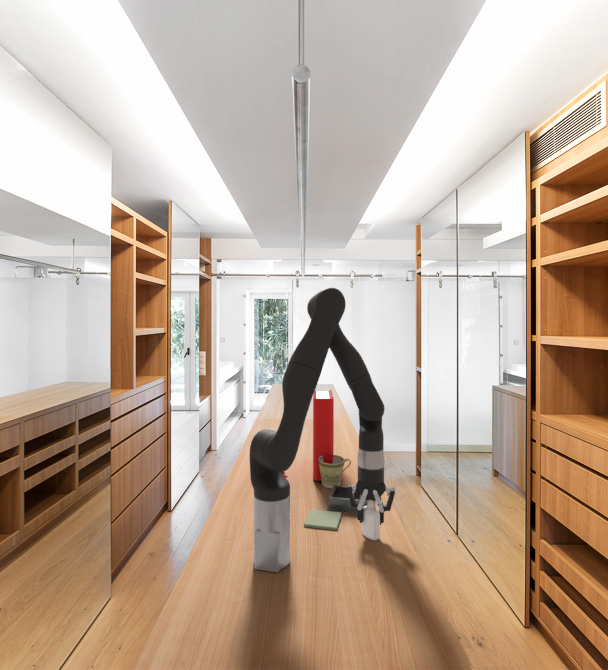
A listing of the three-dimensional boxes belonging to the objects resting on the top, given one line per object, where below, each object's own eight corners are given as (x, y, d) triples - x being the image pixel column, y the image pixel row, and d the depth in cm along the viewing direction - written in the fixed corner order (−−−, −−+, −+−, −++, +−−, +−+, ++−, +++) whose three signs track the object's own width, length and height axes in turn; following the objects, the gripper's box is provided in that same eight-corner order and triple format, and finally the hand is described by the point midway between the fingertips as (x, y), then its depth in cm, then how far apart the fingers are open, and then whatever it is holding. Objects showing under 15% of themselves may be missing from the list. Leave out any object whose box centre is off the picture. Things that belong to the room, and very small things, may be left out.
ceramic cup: (323, 492, 143) (323, 465, 143) (314, 480, 153) (314, 455, 152) (355, 487, 147) (356, 461, 147) (345, 477, 157) (345, 452, 156)
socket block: (363, 514, 126) (363, 502, 126) (327, 510, 129) (327, 498, 129) (366, 498, 138) (366, 487, 138) (332, 495, 140) (332, 484, 140)
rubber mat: (336, 530, 116) (336, 527, 116) (303, 526, 118) (303, 523, 118) (341, 514, 126) (341, 512, 126) (310, 511, 128) (310, 509, 128)
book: (313, 459, 180) (313, 389, 180) (331, 459, 180) (331, 389, 180) (313, 480, 153) (313, 398, 153) (333, 480, 152) (333, 398, 153)
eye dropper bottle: (365, 541, 110) (366, 499, 109) (361, 531, 115) (361, 491, 115) (381, 541, 110) (381, 498, 110) (375, 530, 116) (375, 490, 115)
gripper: (344, 466, 110) (344, 526, 111) (396, 470, 107) (396, 532, 107) (347, 457, 118) (347, 514, 118) (396, 461, 114) (396, 519, 115)
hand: (370, 522), depth 113 cm, fingers closed on eye dropper bottle, 4 cm apart
